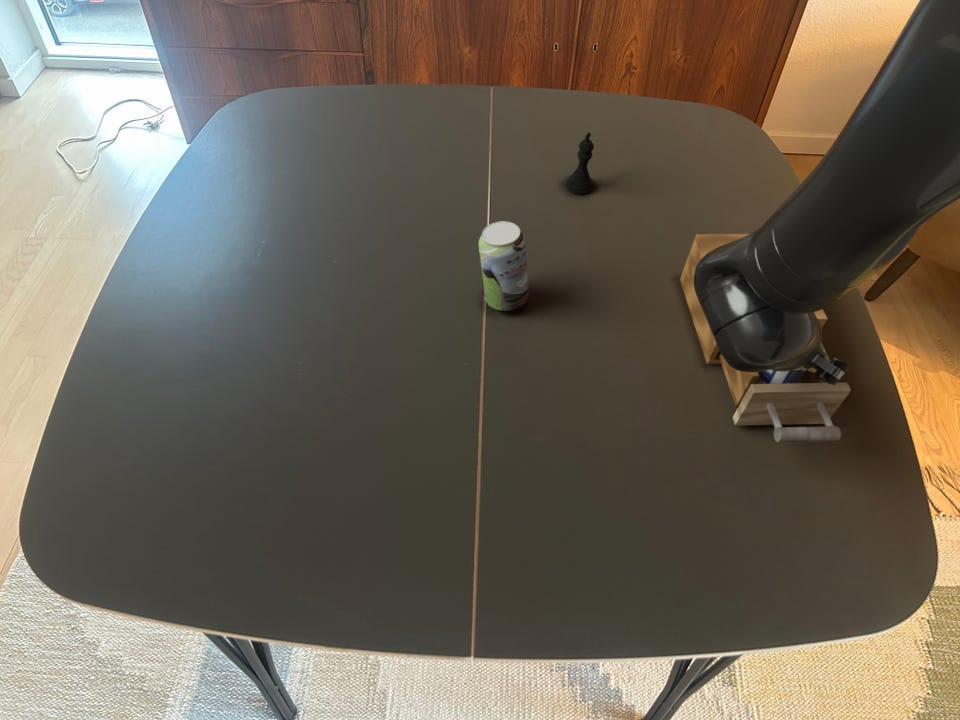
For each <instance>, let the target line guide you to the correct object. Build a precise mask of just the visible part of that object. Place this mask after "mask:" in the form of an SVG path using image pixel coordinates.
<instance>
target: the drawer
mask: <svg viewBox="0 0 960 720" xmlns="http://www.w3.org/2000/svg"><path fill="white" fill-rule="evenodd" d="M821 344H822V345H823V346H824V344H823V343H822V341H821ZM823 351H825V352H826V353H827V351H826V349H825V348H824V349H823ZM718 355H719V358H720V361H721V364H720V365H721V367H722V370H723V373H724V376H725V379H726V382H727V385H728V388H729V391H730V394H731V397H732V400H733V402H734V403H733V404H734V407H736V410H735V412H734V414H733V416H732V420H733V423H734V426H773V428H774V430H773V438H774V441H775V442H776V443H791V442H794V443H797V442H837V441H840V439H841V438H842V431H841V429H840V427H839V426H837V425H834V423H833V421H832V420H831V418H832V417H833V416H834V415H835V413H836V411H837V410H838V409H839V407H840V406H841V405H842V404H843V402H844V400H845V399H846V398H847V397H848V395H849V394H850V393H851V391H852V390H851V387H850V385H849V383H848V382H837V383H836V384H835V385H832V384H831V385H830V384H828V383H827V382H826V381H823V380H822V379H821V377H820V376H819V375H820V374H821V373H822V372H819V371H818V370H817V371H816V372H815V373H813V372H810V371H808V370H806V371H805V372H804V374H803V375H802V377H801V379H800V380H799V382H798V383H793V384H755V382H756V381H757V379H758V377H759V374H758V372H742V371H738V370H736V369H734V368H732V367H731V366H730V365H729V364H728V363H727V362H726V361H725V359H724V358H723V356H722V354H721V352H720V350H719V352H718ZM826 360H828V361H829V362H831V360H830V358H829V356H828V358H827V359H826ZM821 424H822V425H824V426H797V427H796V426H792V427H791V426H789V427H787V426H786V427H784V426H783V425H821Z"/></svg>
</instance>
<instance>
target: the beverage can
mask: <svg viewBox="0 0 960 720" xmlns="http://www.w3.org/2000/svg"><path fill="white" fill-rule="evenodd" d="M526 242H527V241H526V236H525V235H524V233H523V232H522V231H521V229H520V227H519V226H518V225H517V224H516V223H514V222H511V221H507V220H506V221H505V220H502V221H495V222H492V223H489V224H487V225H486V226H485V227H484V228H483V230H482V231H481V235H480V237H479V240H478V251H479V259H480V260H479V261H480V267H481V275H482V283H483V288H484V289H483V292H484V298H485V302H486V304H487V305H488V306H489V307H490V308H492V309H494V310H497V311H501V312H503V311H504V312H510V311H514V310H517V309H520V308H521V307H523V306H524V305H525V304H526V303H527V302H528V300H529V297H530V287H529V286H530V285H529V273H528V258H527V257H528V256H527V243H526Z"/></svg>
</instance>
